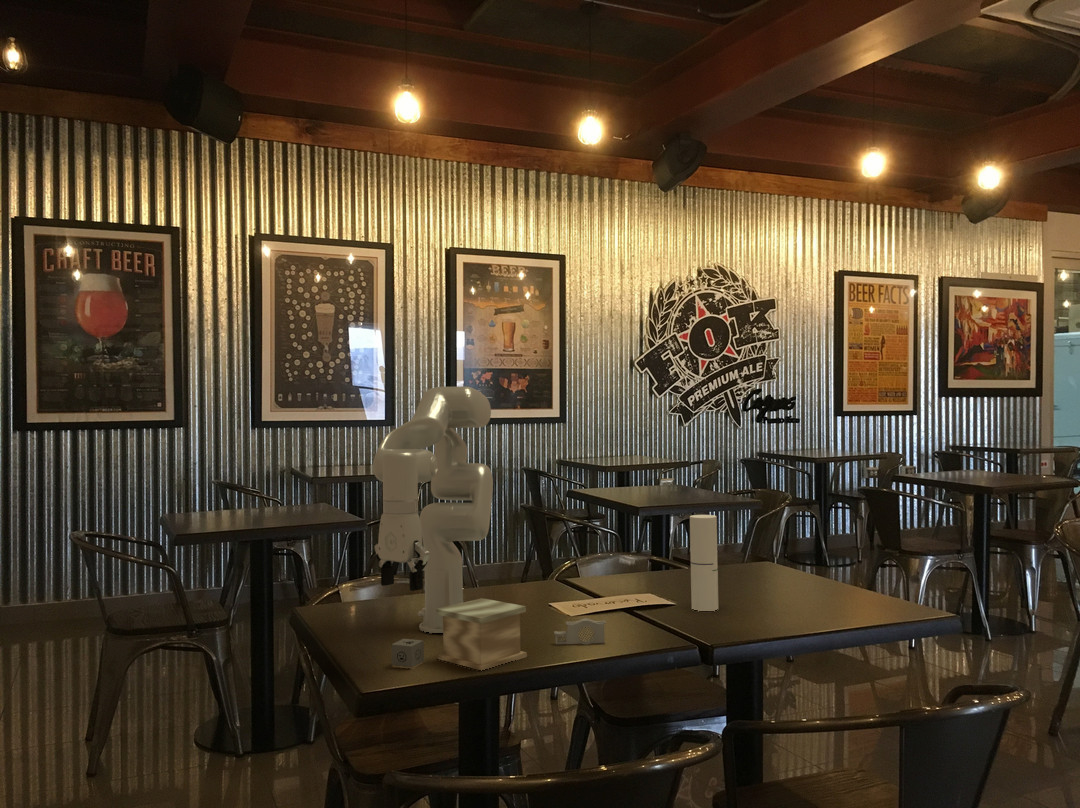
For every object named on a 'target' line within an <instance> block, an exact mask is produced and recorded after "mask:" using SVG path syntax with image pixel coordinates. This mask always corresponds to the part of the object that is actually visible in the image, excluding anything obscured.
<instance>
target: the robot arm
mask: <svg viewBox="0 0 1080 808" xmlns="http://www.w3.org/2000/svg"><path fill="white" fill-rule="evenodd" d="M491 415H492V408H491V404H490V401H489V399H488V398H487V397H486V395H484V394H483V393H481V392H480V391H479V390H478V389H475V388H474V387H471V386H465V385H464V386H436V387H435V386H434V387H431V388H429V389H428V390H426V391H425V392H424V393H423V395H422V397H421V399H420V400H419V402H418V406H417V407H416V409H415V412H414V414H413V416H412V418H411V420H409V421H407V422H405V423H402V424H401V425H400V426H398V427H397V428H395V429H393V430H391V431H390V432H389V433H388V434H386V435H385V436H384V437H383V438H382V440H381V442H380V444H379V446H378V448H377V449H376V452H375V454H374V458H373V463H372V469H373V474H374V476H375V478H376V479H377V480H378V481H379V482H382V509H383V511H382V514H381V516H380V522H379V530H378V543H376V544H375V545H374V551H375V553H376V559H377V561H378V566H379V567H380V586H382V587H386V586H391V585H394V584H395V566H394V565H393V564H394V563H399V564H400V563H401V564H405V563H407V564H408V567H409V568H410V571H409V573H408V574H409V575H408V576H409V577H408V578H409V591H410V592H415V591H420V590H423V589H424V607H422V609H421V610H418V611H417V615H418V616H419V617H422V618H423V619H422V620H423V621H422V622H421V623H419V626H418V627H419V628H418V629H419V630H420V631H421V632H423V631H424V632H423V633H426V632H429V633H428V634H432V633H443V616H441V615H437V614H436V609H439V608H443V607H447V606H451V605H455V604H460V603H464V590H463V589H464V587H463V585H464V584H463V582H464V581H463V580H464V579H463V578H464V577H463V576H464V574H463V557H462V554H461V552H460V550H459V549H458V547H457V546H456V545H455V544H454V542H457V541H459V542H460V541H461V542H462V541H463V542H465V541H466V542H475V541H476V542H479V541H482V540H484V539H485V538H486V537H487V536H488V533H489V531H490V530H489V529H490V522H491V513H492V502H493V501H492V500H493V492H494V489H493V487H494V477H493V473H492V470H491V468H490V467H489V466H488V465H487V464H484V463H480V462H479V463H478V462H476V463H475V462H472V463H471V462H470V463H469V462H467V459H468V451H469V450H468V447H467V446H468V445H467V444H466V443H465V441H464V439H463V438H462V436H460V435H459V434H458V432H457V431H456V430H455V429H467V428H468V429H469V428H470V429H471V428H473V429H474V428H475V429H476V428H477V429H478V428H484V427H486V426H487V425H488V424H489V422H490V420H491V417H492V416H491ZM431 446H434V452H433V451H430V450H429V449H426V448H429V447H431ZM428 482H430V490H431V494H432V496H434V498H436V499H438V500H441V501H442V500H443V501H447V502H433V503H430V504H427V505H426V506H424V507H423V509H421V512H420V515H419V490H418V489H419V483H421V484H422V483H428ZM448 501H452V502H448ZM453 501H455V502H453ZM456 501H471V502H456Z"/></svg>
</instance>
